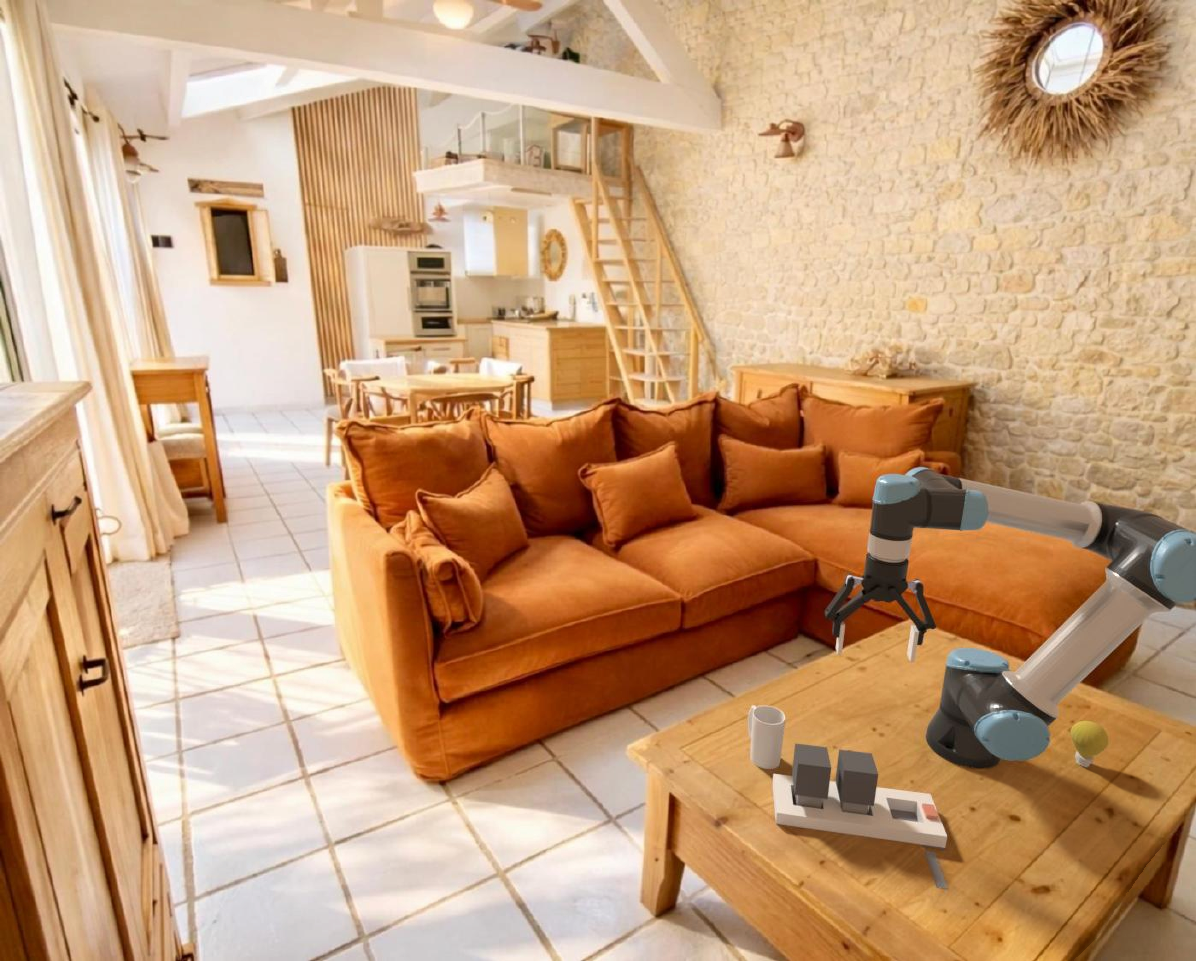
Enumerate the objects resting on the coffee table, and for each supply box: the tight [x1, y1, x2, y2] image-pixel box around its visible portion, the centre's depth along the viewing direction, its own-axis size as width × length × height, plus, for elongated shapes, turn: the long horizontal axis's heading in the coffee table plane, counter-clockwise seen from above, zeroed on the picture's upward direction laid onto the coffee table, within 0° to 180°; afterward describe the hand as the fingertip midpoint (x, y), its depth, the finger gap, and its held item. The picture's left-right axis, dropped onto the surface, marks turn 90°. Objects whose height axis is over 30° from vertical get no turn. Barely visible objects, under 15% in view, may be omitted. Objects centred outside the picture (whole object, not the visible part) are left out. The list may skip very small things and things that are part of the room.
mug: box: [747, 704, 786, 770], centre depth 147 cm, size 10×7×12 cm, turn 23°
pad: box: [923, 850, 949, 890], centre depth 121 cm, size 8×8×1 cm
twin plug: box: [791, 743, 832, 809], centre depth 132 cm, size 6×6×12 cm
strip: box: [771, 773, 948, 851], centre depth 132 cm, size 30×11×4 cm, turn 80°
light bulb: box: [1069, 720, 1109, 768], centre depth 147 cm, size 7×7×10 cm
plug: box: [834, 749, 879, 815], centre depth 130 cm, size 6×6×12 cm
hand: (874, 655), depth 136 cm, fingers open, 13 cm apart
